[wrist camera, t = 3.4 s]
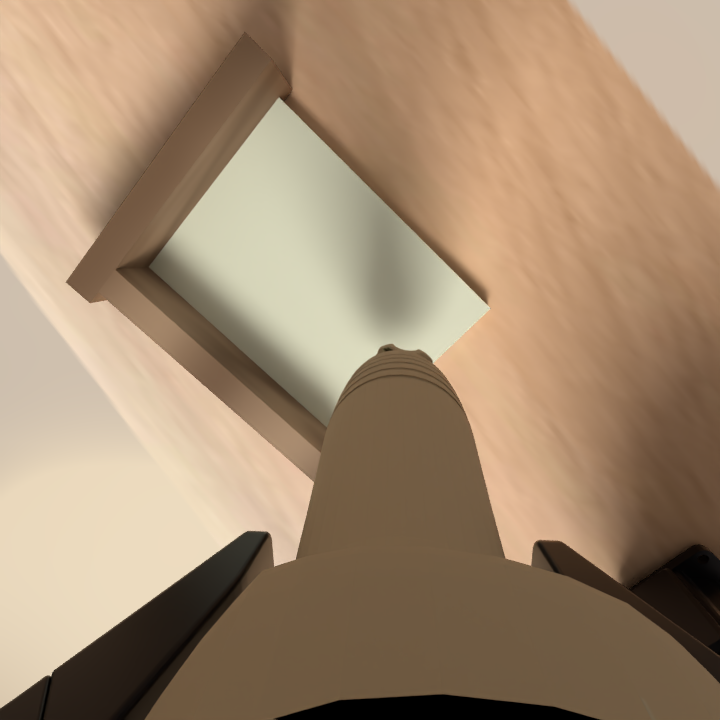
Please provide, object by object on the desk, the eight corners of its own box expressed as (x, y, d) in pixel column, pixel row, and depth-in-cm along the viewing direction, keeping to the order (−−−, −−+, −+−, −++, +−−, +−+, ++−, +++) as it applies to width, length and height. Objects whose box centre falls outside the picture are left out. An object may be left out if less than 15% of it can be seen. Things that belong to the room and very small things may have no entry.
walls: (498, 296, 19) (516, 305, 16) (323, 464, 22) (312, 496, 19) (270, 67, 18) (244, 32, 15) (113, 277, 20) (65, 282, 17)
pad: (487, 306, 19) (490, 308, 19) (348, 440, 21) (347, 445, 21) (282, 101, 18) (278, 97, 17) (155, 266, 20) (148, 266, 19)
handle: (479, 313, 16) (1143, 864, 2) (439, 467, 18) (617, 1382, 4) (351, 288, 16) (22, 612, 2) (323, 442, 18) (35, 1231, 4)
